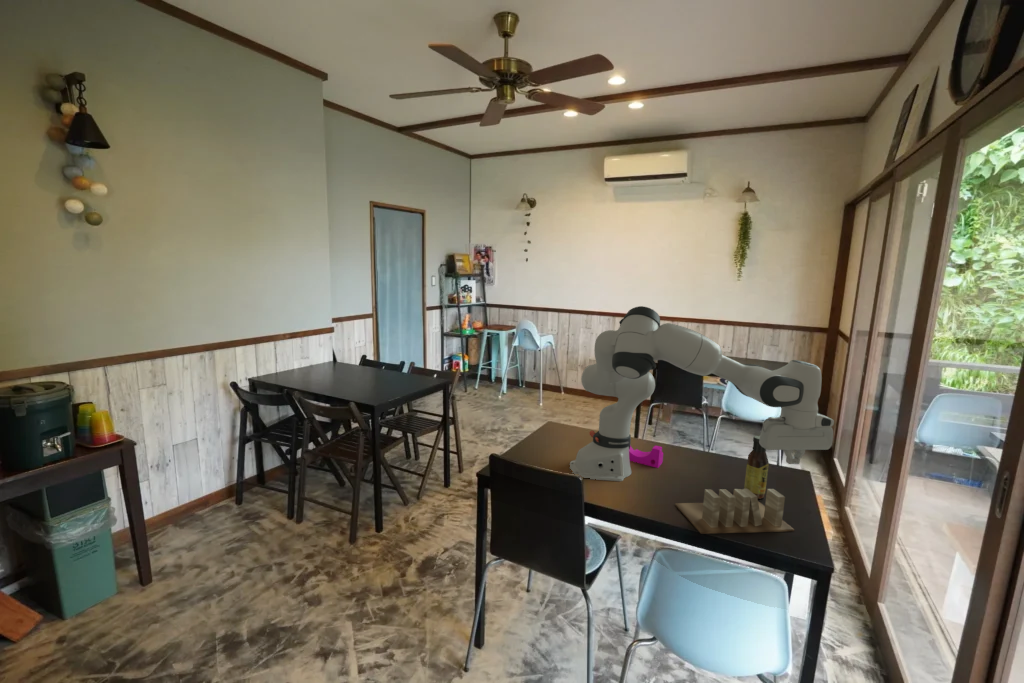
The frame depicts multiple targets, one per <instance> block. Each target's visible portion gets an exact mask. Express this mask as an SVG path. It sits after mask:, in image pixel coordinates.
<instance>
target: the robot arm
mask: <svg viewBox="0 0 1024 683" xmlns="http://www.w3.org/2000/svg"><path fill="white" fill-rule="evenodd" d="M594 358H595V362H596V363H593V364H590V365H588V366H587V367H585V368H584V369H583V372H582V374H581V377H580V380H581V385H582V388H583V389H584V390H585V391H586V392H589V393H592V394H595V395H600V396H606V397H615V398H617V399H618V400H617V402H614V403H612V404H609V405H607V406H604V407H603V408H602V409H601V410H600V413H599V420H598V421H599V422H598V430H597V431H596V432H595V431H594V430H590V431H589V436H590V437H591V438H592V441H590V442H589V443H588V444H586V445H584V446H583V447H581V448H580V449H579V450H578V451H577V453H576V457H575V459H574V460H571V461H570V462H569V465H570V467H569V470H570V469H571V470H572V471H573V472H571V473H572V474H573V473H574V474H579V475H581V476H582V477H584V478H590V479H589V480H595V479H596V481H598V480H599V481H609V482H610V481H611V482H623V481H624V479H625V478H627V477H629V476H631V475H632V468H631V461H630V460H629V449H630V445H632V444H631V443H632V440H631V439H632V438H631V436H632V435H631V434H630V433H631V425H632V424H631V423H632V420H633V419H632V418H633V416H634V415H633V414H634V412H635V410H636V408H637V407H638V406H639V405H640V404H641V403H642V402H643V401H645V400H647V399H648V398H650V397H651V396H652V395H653V393H654V391H655V389H656V379H655V377H654V376H653V374H652V372H651V371H652V370H655V369H656V367H657V363H656V361H664V362H667V363H669V364H671V365H673V366H675V367H677V368H680V369H681V370H684V371H686V372H688V373H691V374H694V375H698V376H703V377H705V376H708V375H709V376H710V375H712V374H713V375H715V376H717V377H719V378H722V379H723V380H725V381H728V382H730V383H731V384H732V385H733V386H734V388H736V390H737V391H738V392H739V393H740V394H742V395H743V396H746V397H748V398H750V399H753V400H755V401H756V402H758V403H761V404H763V405H765V406H767V407H771V408H780V409H781V410H780V416H778V417H777V416H776V417H775V416H774V417H773V416H770V417H768V418H766V419H765V420H764V421H763V422H762V428H761V432H760V435H759V436H760V439H759V444H760V445H761V446H762V447H763V448H765V449H766V451H783V453H784V454H785V457H786V459H785V461H786V463H787V464H788V465H800V462H801V459H802V457H803V456H804V455H805V454H806V451H811V450H812V451H813V450H815V451H817V450H818V451H819V450H820V451H821V450H823V451H824V450H825V451H826V450H829V449H831V448H832V446H833V440H834V429H833V426H834V424H835V420H834V419H832V418H830V417H829V416H826V415H824V414H822V413H820V412H819V404H818V402H819V399H820V396H821V392H822V379H823V377H822V370H821V368H820V367H819V366H818V365H816V364H813V363H811V362H806V361H802V360H797V359H793V360H790V361H788V363H787V364H786V365H783V366H781V367H779V368H776V369H774V370H770V369H768V368H766V367H764V366H762V365H759V364H754V363H741V362H738V361H737V360H734V359H733V358H730V357H728V356H726V355H724V354H723V350H722V347H721V346H720V344H718V343H717V342H715V341H714V340H713V339H711V338H710V337H708V336H706V335H705V334H702V333H700V332H697V331H696V330H693V329H691V328H688V327H684V326H682V325H678V324H674V323H671V322H669V323H663V324H661V317H660V315H659V313H658V312H657V311H655V310H654V309H652V308H650V307H647V306H643V305H642V306H641V305H640V306H635V307H632V308H630V309H629V310H628V312H627V313H626V314H625V315H624V317H623V318H621V319H620V321H619V327H618V329H617V330H611V329H609V330H604V331H602V332H601V333H599V335H598V336H597V337H596V339H595V342H594ZM794 451H796V452H795V454H794V455H792V454H793V453H794ZM571 470H570V471H571ZM574 474H573V475H574Z"/></svg>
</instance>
